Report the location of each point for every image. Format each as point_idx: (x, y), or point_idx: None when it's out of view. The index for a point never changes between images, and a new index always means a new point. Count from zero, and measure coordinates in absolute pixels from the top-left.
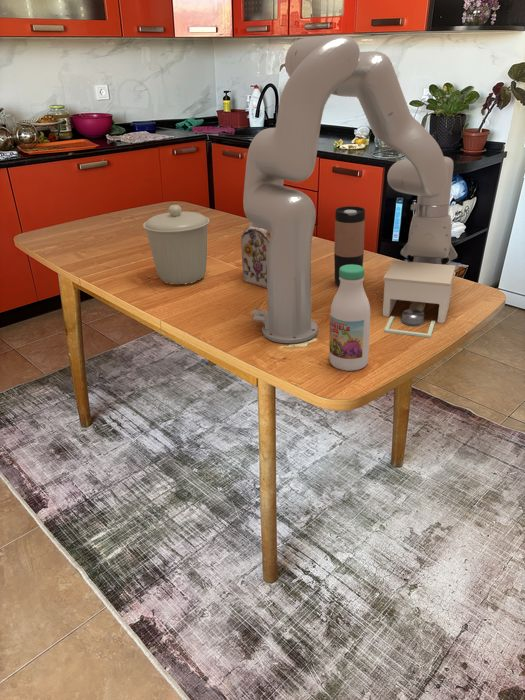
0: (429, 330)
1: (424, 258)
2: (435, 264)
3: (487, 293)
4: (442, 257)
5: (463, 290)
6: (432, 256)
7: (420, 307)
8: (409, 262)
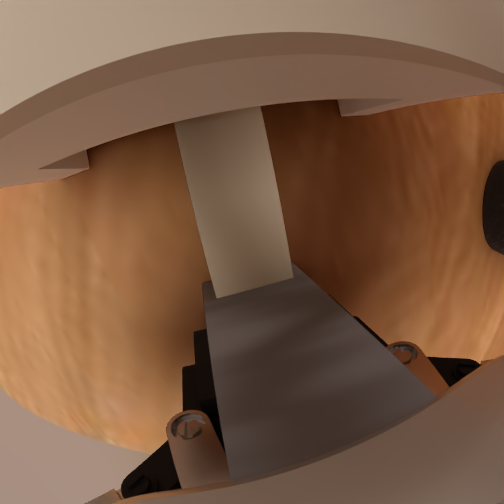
0: None
1: (367, 417)
2: (13, 65)
3: (16, 377)
4: (133, 498)
5: (90, 376)
6: (276, 480)
7: None
8: (496, 46)
